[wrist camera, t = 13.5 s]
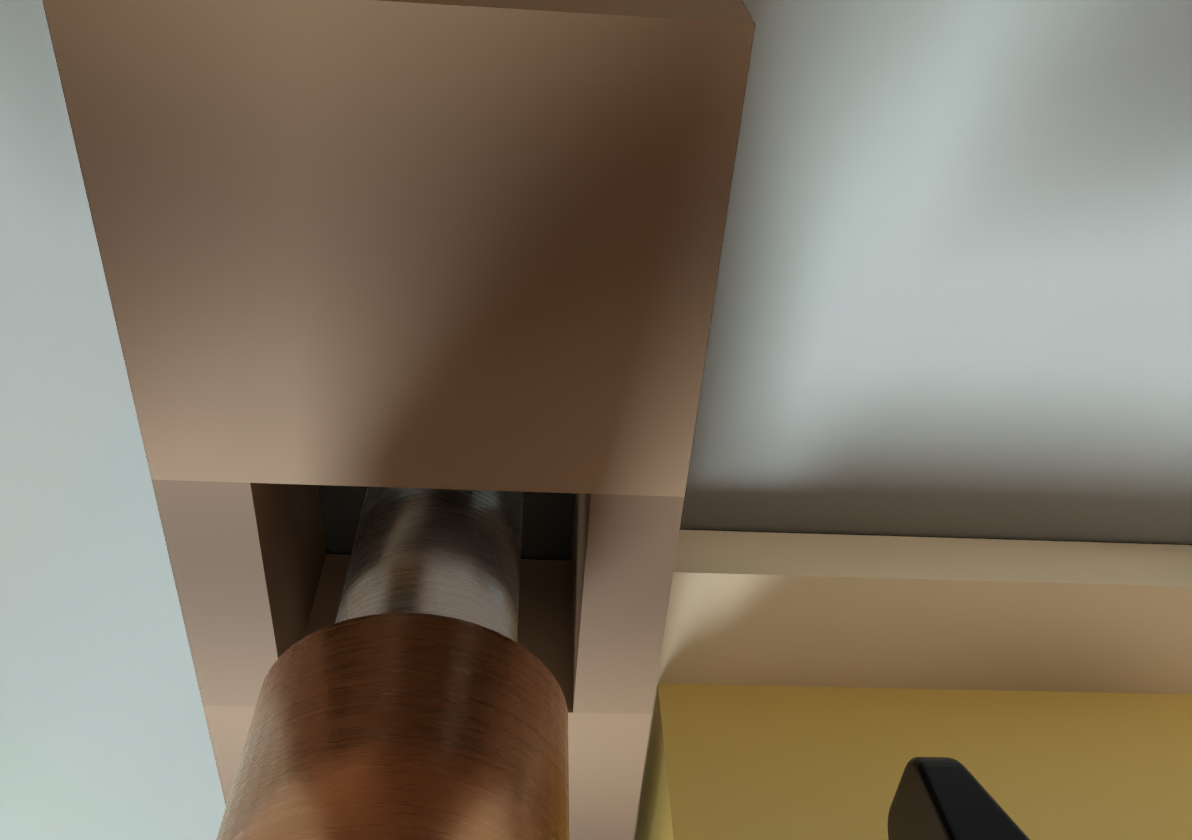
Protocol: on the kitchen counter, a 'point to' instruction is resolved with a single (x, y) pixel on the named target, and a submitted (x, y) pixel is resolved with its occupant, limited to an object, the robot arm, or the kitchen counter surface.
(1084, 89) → the kitchen counter surface
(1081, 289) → the kitchen counter surface
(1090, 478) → the kitchen counter surface
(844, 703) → the block
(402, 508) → the awl
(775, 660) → the subfloor panel
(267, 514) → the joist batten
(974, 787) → the robot arm
